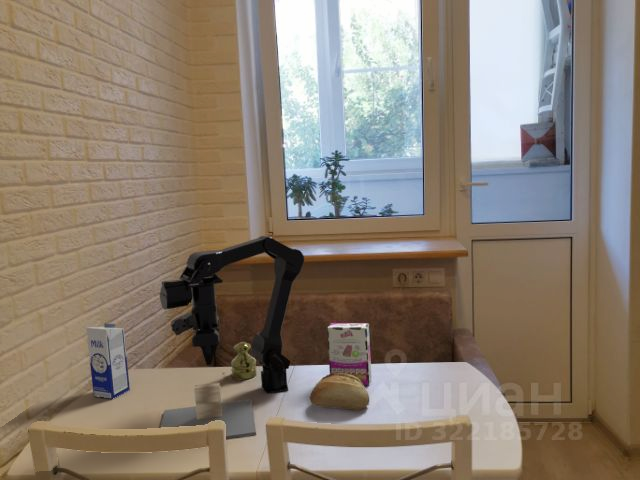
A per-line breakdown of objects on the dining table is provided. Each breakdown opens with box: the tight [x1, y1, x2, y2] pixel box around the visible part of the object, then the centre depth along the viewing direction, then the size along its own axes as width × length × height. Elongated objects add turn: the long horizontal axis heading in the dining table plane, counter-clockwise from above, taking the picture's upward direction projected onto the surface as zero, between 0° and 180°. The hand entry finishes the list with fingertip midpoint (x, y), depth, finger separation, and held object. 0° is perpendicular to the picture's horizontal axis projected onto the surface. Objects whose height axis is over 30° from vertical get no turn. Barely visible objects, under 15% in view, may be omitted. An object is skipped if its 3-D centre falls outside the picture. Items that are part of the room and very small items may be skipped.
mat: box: [160, 399, 257, 440], centre depth 127 cm, size 22×18×1 cm
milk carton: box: [85, 322, 131, 400], centre depth 146 cm, size 7×7×20 cm
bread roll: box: [309, 373, 370, 411], centre depth 132 cm, size 10×15×8 cm, turn 82°
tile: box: [193, 382, 222, 420], centre depth 128 cm, size 6×2×8 cm, turn 101°
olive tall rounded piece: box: [230, 341, 257, 380], centre depth 155 cm, size 7×7×10 cm
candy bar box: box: [326, 322, 372, 386], centre depth 146 cm, size 11×5×16 cm, turn 77°
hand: (209, 361), depth 134 cm, fingers open, 4 cm apart
